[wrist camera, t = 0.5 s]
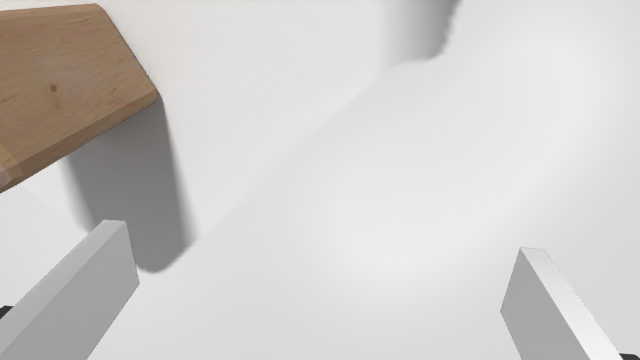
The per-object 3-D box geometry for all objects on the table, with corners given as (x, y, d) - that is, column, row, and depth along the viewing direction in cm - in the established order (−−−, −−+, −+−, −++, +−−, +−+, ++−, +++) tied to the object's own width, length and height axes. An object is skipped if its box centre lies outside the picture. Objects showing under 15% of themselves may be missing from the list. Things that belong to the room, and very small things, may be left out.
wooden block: (165, 96, 40) (17, 185, 23) (91, 135, 43) (-95, 244, 25) (102, -2, 37) (-135, 12, 19) (24, 47, 39) (-249, 101, 21)
